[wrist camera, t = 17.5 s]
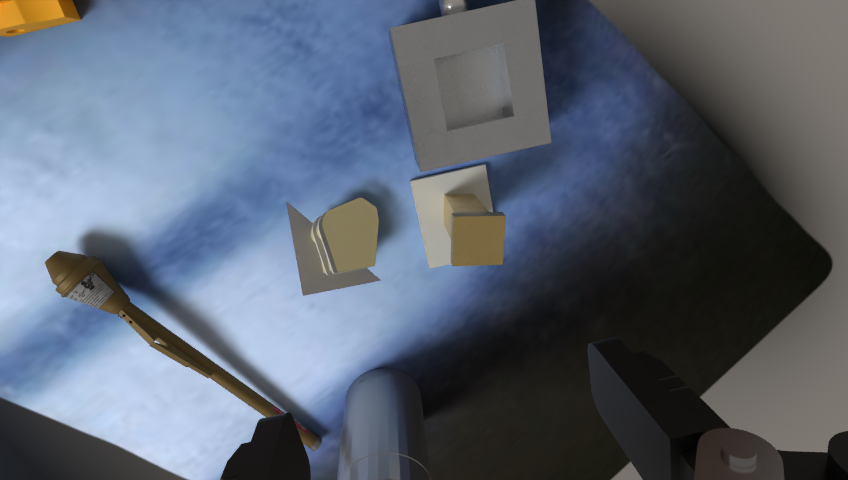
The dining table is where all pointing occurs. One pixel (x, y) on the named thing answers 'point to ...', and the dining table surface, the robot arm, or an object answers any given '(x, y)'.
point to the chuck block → (472, 82)
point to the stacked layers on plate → (336, 246)
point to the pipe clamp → (34, 15)
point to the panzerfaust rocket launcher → (149, 326)
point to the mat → (432, 206)
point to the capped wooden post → (473, 231)
